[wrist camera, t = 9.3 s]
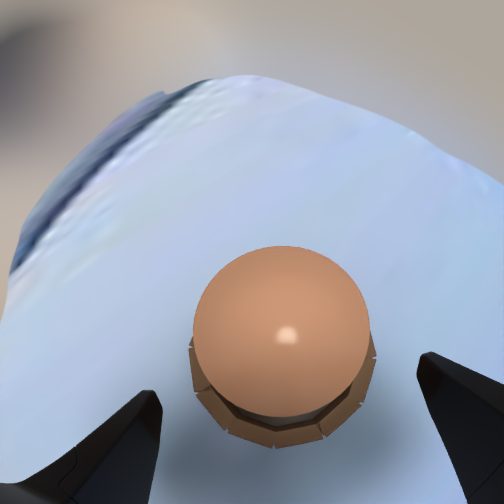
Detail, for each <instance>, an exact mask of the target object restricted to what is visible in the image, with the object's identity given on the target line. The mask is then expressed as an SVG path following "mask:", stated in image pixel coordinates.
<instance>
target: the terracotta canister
mask: <svg viewBox="0 0 504 504" xmlns="http://www.w3.org/2000/svg"><path fill="white" fill-rule="evenodd" d="M369 336H370V323H369V316H368V311H367V307H366V304H365V301H364V298H363V296H362V294H361V292H360V290H359V288H358V287H357V285H356V284H355V282H354V281H353V280H352V278H351V277H350V276H349V275H348V274H347V273H346V272H345V271H344V270H343V269H342V268H341V267H340V266H339V265H337V264H336V263H335V262H333V261H332V260H330V259H329V258H327V257H325V256H323V255H321V254H319V253H316V252H314V251H311V250H308V249H304V248H300V247H292V246H274V247H266V248H262V249H258V250H255V251H252V252H249V253H246V254H244V255H242V256H240V257H238V258H236V259H235V260H233V261H232V262H230V263H229V264H227V265H226V266H225V267H224V268H223V269H222V270H220V271H219V272H218V273H217V274H216V276H215V277H214V278H213V279H212V280H211V282H210V283H209V284H208V286H207V287H206V289H205V291H204V292H203V294H202V296H201V298H200V301H199V303H198V306H197V309H196V313H195V317H194V325H193V341H194V347H195V352H196V356H197V359H198V362H199V364H200V367H201V369H202V371H203V373H204V374H205V376H206V377H207V379H208V381H209V382H210V383H211V384H212V386H213V387H214V388H215V389H216V390H217V391H218V392H219V393H220V394H221V395H222V396H223V397H225V398H226V399H227V400H228V401H230V402H232V403H233V404H235V405H236V406H238V407H240V408H242V409H244V410H247V411H249V412H253V413H256V414H259V415H265V416H271V417H288V416H297V415H301V414H305V413H309V412H311V411H314V410H316V409H319V408H321V407H323V406H324V405H326V404H328V403H330V402H331V401H333V400H334V399H335V398H336V397H338V396H339V395H340V394H341V393H342V392H343V391H344V390H345V389H346V388H347V387H348V386H349V385H350V384H351V382H352V381H353V380H354V378H355V377H356V376H357V374H358V372H359V370H360V368H361V367H362V364H363V362H364V359H365V357H366V354H367V349H368V345H369Z"/></svg>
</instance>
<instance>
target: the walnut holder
mask: <svg viewBox="0 0 504 504" xmlns="http://www.w3.org/2000/svg"><path fill="white" fill-rule="evenodd" d="M189 345H190V346H192V347H194V341H193V337H192V339H191V342H190V344H189ZM375 356H376V352H375V348H374V343H373V339H372V336H371V332H370V336H369V345H368V349H367V354H366V357H365V359H364V362H363V364H362V367H361V368H360V370H359V372H358V374H357V376H356V377H355V378H354V380H353V381H352V382H351V384H350V385H349V386H348V387H347V388H346V389H345V390H344V391H343V392H342V393H341V394H340V395H339V396H338V397H336V398H335V399H334V400H333V401H331V402H330V403H328V404H326V405H324V406H323V407H321V408H319V409H316V410H314V411H311V412H309V413H305V414H301V415H297V416H288V417H271V416H265V415H259V414H256V413H253V412H249V411H247V410H244V409H242V408H240V407H238V406H236V405H235V404H233V403H232V402H230V401H228V400H227V399H226V398H225V397H223V396H222V395H221V394H220V393H219V392H218V391H217V390H216V389H215V388H214V387H213V386H212V384H211V383H210V382H209V381H208V379H207V377H206V376H205V374H204V373H203V371H202V369H201V367H200V364H199V362H198V359H197V356H196V352H195V347H194V348H189V357H190V365H191V373H192V380H193V387H194V392H199V393H198V394H197V395H196V396H197V398H198V399H199V400H200V402H201V403H202V404H203V405H204V407H205V408H206V409H207V410H208V412H209V413H210V414H211V415H212V417H213V418H214V419H215V420H216V421H217V423H218V424H219V425H220V426H221V427H222V429H223V430H226V429H227V428H229V430H228V432H227V433H229V434H232V435H235V436H237V437H240V438H243V439H245V440H248V441H251V442H254V443H257V444H260V445H263V446H266V447H269V448H272V447H273V445H274V443H275V447H276V449H277V448H283V447H288V446H294V445H299V444H304V443H308V442H313V441H317V440H321V439H323V436H322V433H323V434H324V435H325V436H326V437H327V436H329V435H330V434H331V433H332V432H333V431H334V430H336V429H337V428H338V427H339V426H340V425H341V424H342V423H344V422H345V421H346V420H347V419H348V418H349V417H350V416H351V415H352V414H353V413H354V412H355V411H356V410H357V409H359V408H360V407H361V405H360V404H359V403H358V402H364V399H365V396H366V393H367V390H368V387H369V384H370V380H371V377H372V373H373V370H374V366H375V363H376V359H373V358H372V357H375Z"/></svg>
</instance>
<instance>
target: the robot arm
mask: <svg viewBox="0 0 504 504" xmlns="http://www.w3.org/2000/svg"><path fill="white" fill-rule="evenodd" d="M416 375H417V379H418V382H419V385H420V388H421V390H422V393H423V396H424V399H425V402H426V405H427V407H428V410H429V413H430V415H431V417H432V419H433V421H434V423H435V426H436V428H437V430H438V432H439V434H440V436H441V439H442V441H443V443H444V445H445V448H446V450H447V452H448V455H449V457H450V459H451V462H452V464H453V467H454V469H455V472H456V474H457V477H458V479H459V482H460V484H461V487H462V489H463V492H464V495H465V498H466V500H467V504H504V384H501V383H499V382H497V381H495V380H493V379H490V378H488V377H486V376H484V375H482V374H480V373H477V372H475V371H473V370H471V369H469V368H466V367H464V366H462V365H460V364H458V363H456V362H453V361H451V360H449V359H447V358H445V357H443V356H441V355H438V354H436V353H434V352H428V353H424V354H422V355H421V356H420V360H419V364H418V368H417V374H416ZM162 415H163V409H162V405H161V403H160V401H159V399H158V397H157V395H156V393H155V391H153V390H142V391H141V392H140V393H138V394H137V395H136V396H135V397H134V398H132V399H131V400H130V401H129V402H128V403H127V404H125V405H124V406H123V407H122V408H121V409H120V410H118V411H117V412H116V413H115V414H114V415H112V416H111V417H110V418H109V419H108V420H106V421H105V422H104V423H103V424H102V425H100V426H99V427H98V428H97V429H96V430H94V431H93V432H92V433H91V434H89V435H88V436H87V437H86V438H85V439H83V440H82V441H81V442H80V443H78V444H77V445H76V447H73V448H72V449H71V450H70V451H68V452H67V453H66V454H64V455H63V456H62V457H60V458H59V459H58V460H56V461H55V462H53V463H52V464H50V465H49V466H47V467H45V468H44V469H42V470H41V471H39V472H37V473H36V474H34V475H32V476H31V477H29V478H27V479H26V480H24V481H21V482H18V483H0V504H148V501H149V495H150V490H151V485H152V480H153V476H154V471H155V466H156V461H157V457H158V452H159V445H160V435H161V424H162Z"/></svg>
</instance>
